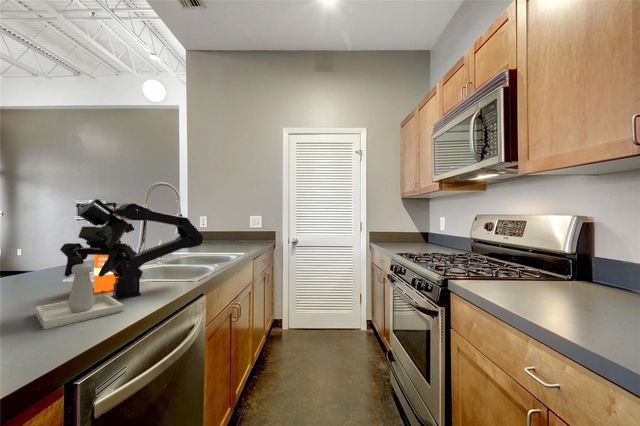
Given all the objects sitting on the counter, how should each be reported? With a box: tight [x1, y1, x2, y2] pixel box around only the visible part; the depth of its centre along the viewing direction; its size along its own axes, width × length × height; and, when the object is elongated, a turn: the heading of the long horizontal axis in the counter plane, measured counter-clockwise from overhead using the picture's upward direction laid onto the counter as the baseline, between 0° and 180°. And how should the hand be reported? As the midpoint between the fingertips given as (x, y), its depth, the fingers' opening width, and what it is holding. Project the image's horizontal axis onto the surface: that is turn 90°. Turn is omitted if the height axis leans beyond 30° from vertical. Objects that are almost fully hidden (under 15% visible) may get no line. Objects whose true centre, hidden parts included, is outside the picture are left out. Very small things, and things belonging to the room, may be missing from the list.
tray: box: [35, 293, 124, 330], centre depth 77 cm, size 16×16×2 cm
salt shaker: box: [67, 263, 95, 313], centre depth 77 cm, size 6×6×13 cm
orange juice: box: [93, 255, 118, 293], centre depth 103 cm, size 8×9×20 cm
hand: (82, 276), depth 78 cm, fingers open, 9 cm apart
